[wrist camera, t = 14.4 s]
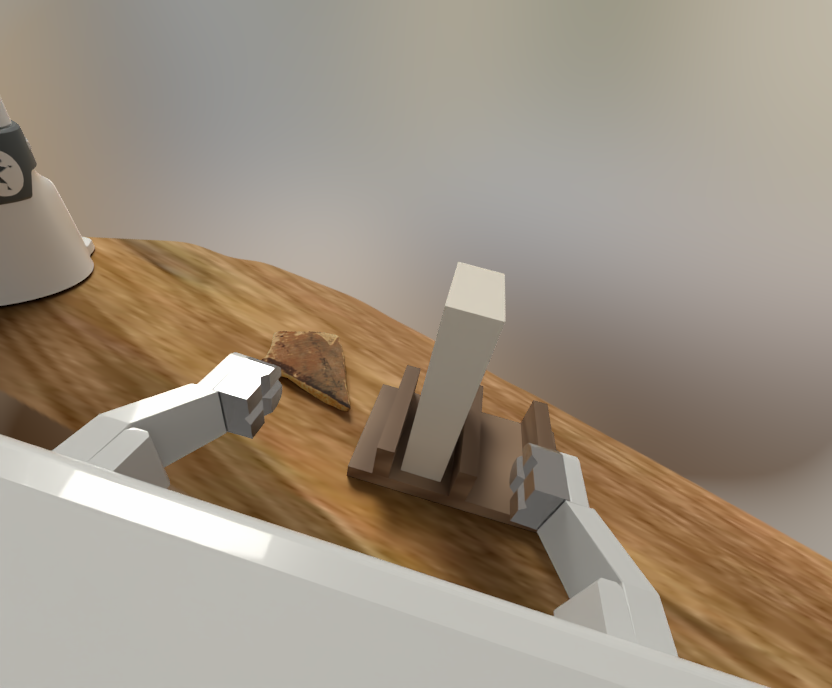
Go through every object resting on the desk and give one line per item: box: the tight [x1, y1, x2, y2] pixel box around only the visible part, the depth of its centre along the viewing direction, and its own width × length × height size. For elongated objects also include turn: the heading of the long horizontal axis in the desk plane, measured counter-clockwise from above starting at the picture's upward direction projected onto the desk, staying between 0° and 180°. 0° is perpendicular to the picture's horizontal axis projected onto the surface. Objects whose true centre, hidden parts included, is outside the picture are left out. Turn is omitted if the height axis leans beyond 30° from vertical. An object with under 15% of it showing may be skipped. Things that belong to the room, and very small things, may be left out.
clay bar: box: [401, 262, 505, 482], centre depth 23 cm, size 3×6×14 cm, turn 168°
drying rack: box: [347, 365, 556, 533], centre depth 27 cm, size 16×9×4 cm, turn 78°
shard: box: [261, 331, 350, 412], centre depth 32 cm, size 11×8×2 cm
